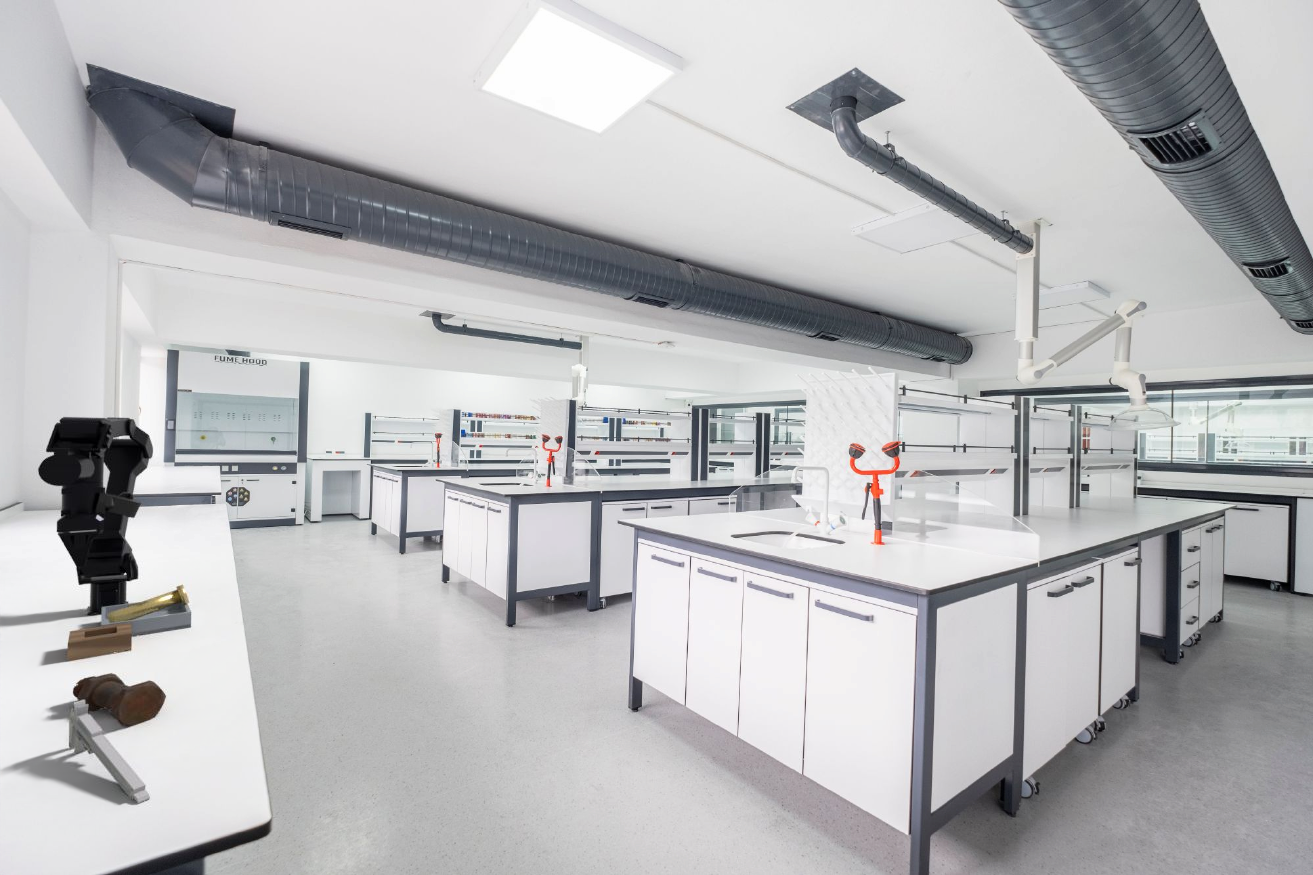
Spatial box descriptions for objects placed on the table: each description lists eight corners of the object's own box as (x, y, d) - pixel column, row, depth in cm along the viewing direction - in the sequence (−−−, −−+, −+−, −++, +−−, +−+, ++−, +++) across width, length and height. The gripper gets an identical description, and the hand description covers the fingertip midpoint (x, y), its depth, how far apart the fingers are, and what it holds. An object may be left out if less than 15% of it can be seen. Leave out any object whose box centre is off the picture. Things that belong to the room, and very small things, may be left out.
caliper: (67, 751, 72) (68, 699, 72) (79, 747, 73) (80, 696, 73) (138, 806, 61) (138, 746, 61) (151, 801, 62) (152, 741, 62)
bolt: (92, 711, 85) (148, 731, 79) (52, 706, 81) (107, 726, 75) (117, 669, 88) (174, 685, 82) (79, 662, 84) (135, 678, 78)
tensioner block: (69, 648, 104) (69, 631, 104) (130, 638, 110) (130, 622, 110) (67, 661, 98) (67, 643, 98) (131, 650, 104) (131, 633, 104)
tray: (101, 621, 119) (101, 607, 119) (183, 609, 127) (184, 596, 127) (100, 641, 108) (101, 625, 108) (190, 627, 116) (191, 611, 116)
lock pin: (105, 613, 112) (183, 586, 120) (105, 608, 115) (181, 582, 123) (113, 632, 113) (190, 604, 121) (112, 627, 115) (187, 600, 124)
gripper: (140, 483, 112) (138, 565, 112) (136, 477, 126) (135, 550, 126) (57, 486, 105) (55, 573, 105) (63, 479, 118) (61, 557, 118)
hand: (81, 562), depth 114 cm, fingers open, 9 cm apart
